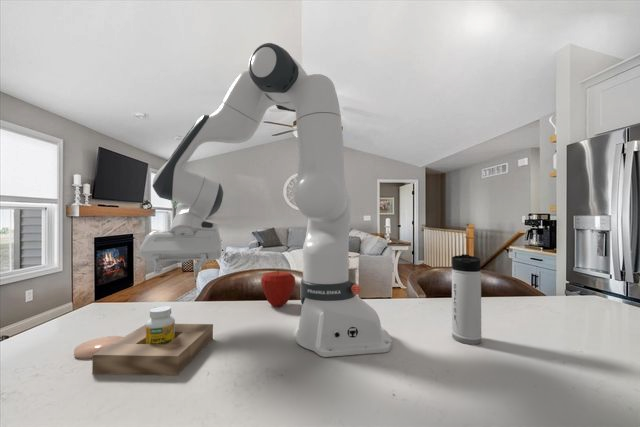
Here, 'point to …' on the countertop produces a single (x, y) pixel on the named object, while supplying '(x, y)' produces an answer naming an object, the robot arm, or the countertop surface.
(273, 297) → the red tapered strawberry shape
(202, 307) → the countertop surface
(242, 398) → the countertop surface
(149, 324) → the supplement bottle
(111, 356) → the frame
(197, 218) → the robot arm
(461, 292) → the travel mug
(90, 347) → the peach round disc
